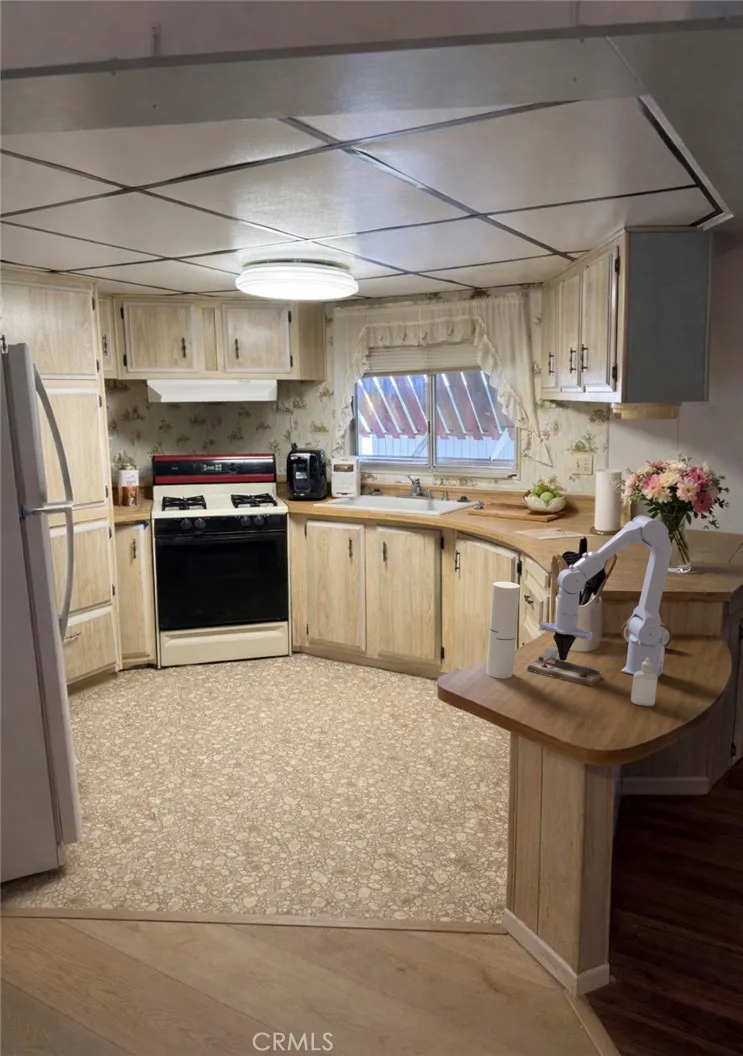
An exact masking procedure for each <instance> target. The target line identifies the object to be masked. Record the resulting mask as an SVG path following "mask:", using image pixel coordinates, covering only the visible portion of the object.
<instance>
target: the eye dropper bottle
mask: <svg viewBox="0 0 743 1056" xmlns="http://www.w3.org/2000/svg"><path fill="white" fill-rule="evenodd" d="M651 671H652V663H650V661H649V658H646V660H645V662H642V667H641V671H637V672H635V673H634V675H633V677H632V686H631V694H630V695H631V696H630V702H631V703H632V704H633V703H634V705H636V704H637V705H638V706H642V705H643V706H642V707H653V706H655V703H656V698H657V697H656V696H657V687H658V681H659V679H658V678H659V677H658V678H657V676H656V674H654V673H652V672H651Z"/></svg>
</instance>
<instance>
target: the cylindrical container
mask: <svg viewBox="0 0 743 1056" xmlns="http://www.w3.org/2000/svg"><path fill="white" fill-rule="evenodd" d="M520 590H521V586H520V584H518V583H515V582H511V581H496V582H495V581H494V582H493V583H492V591H491V592H492V593H491V606H490V618H489V619H490V620H489V632H488V633H489V634H488V643H487V659H486V670H485V671H486V675H488V676H490V677H492V678H495V679H508V678H507V677H510V676H512V675H514V663H515V649H516V637H517V627H518V616H519V615H518V613H519V603H520V602H519V600H520ZM512 677H513V676H512ZM510 678H511V677H510Z"/></svg>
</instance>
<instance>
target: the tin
mask: <svg viewBox="0 0 743 1056" xmlns="http://www.w3.org/2000/svg"><path fill="white" fill-rule="evenodd" d="M628 620H629V619H627V620H625V621H623V623H622V625H621V628H620V634H621V637H622V639H623V641H624V642H625V643H627V644H628V645H629V637H630V634H631V633H630V632H629V630H628V628H627V623H628ZM660 629H661V637H660V639H659V641H658V642H657V644H659V645H661V646H664V649H665V648H667V647H668V646H669V645H670V643H671V642H672V638H673V634H672V633H673V632H672V629H671V628H670V626H669V625H668V624H666V623H665V622H663V621H661V623H660Z"/></svg>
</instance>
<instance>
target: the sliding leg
mask: <svg viewBox="0 0 743 1056" xmlns="http://www.w3.org/2000/svg"><path fill="white" fill-rule="evenodd" d="M544 657H545V658H544V659H543V661H544V665H543V666H546V662H547V663H551V664H556V660H559V653H558V648H557V646H554V645H548V646H547V647H546V648H545V656H544Z"/></svg>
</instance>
